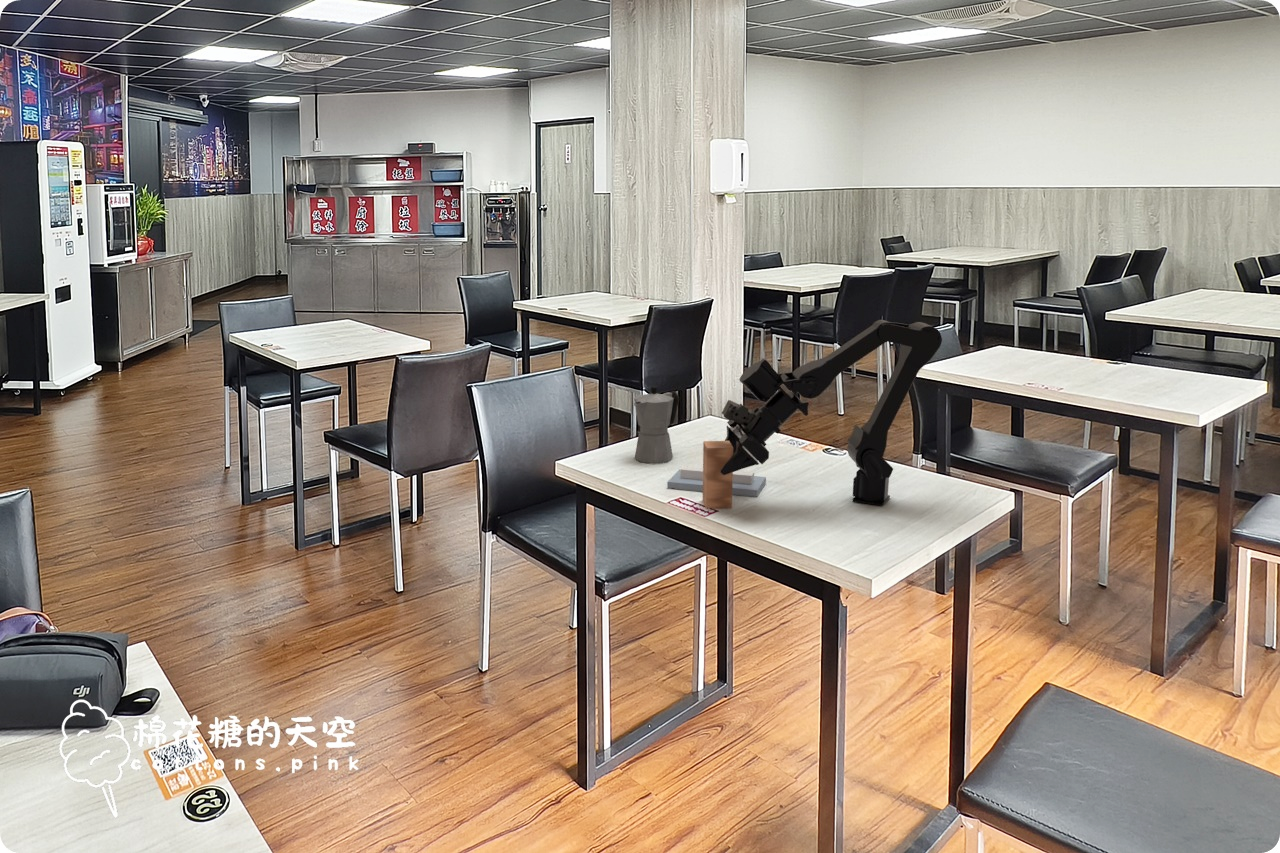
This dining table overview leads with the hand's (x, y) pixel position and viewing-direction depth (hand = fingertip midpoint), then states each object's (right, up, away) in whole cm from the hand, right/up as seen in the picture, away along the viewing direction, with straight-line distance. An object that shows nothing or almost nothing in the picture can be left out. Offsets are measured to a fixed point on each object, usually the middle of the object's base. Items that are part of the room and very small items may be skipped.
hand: (718, 467), depth 209 cm
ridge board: (+1, -5, +14) cm, 15 cm away
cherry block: (0, -8, +2) cm, 8 cm away
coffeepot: (-12, +1, +36) cm, 38 cm away
